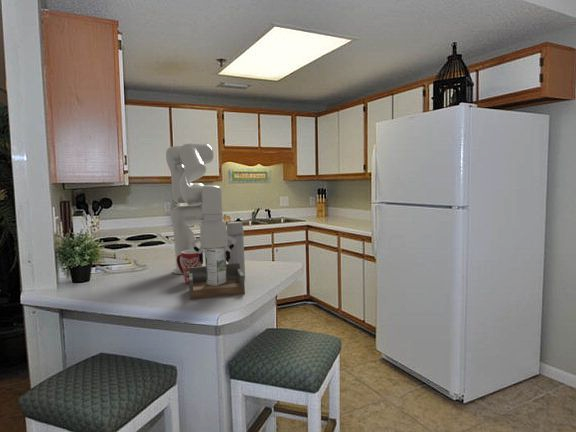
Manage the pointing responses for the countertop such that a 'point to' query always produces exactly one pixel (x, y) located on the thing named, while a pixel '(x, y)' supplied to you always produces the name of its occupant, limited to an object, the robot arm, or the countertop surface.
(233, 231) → the water bottle
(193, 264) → the mug
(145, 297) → the countertop surface
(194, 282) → the shelf
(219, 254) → the syrup box
